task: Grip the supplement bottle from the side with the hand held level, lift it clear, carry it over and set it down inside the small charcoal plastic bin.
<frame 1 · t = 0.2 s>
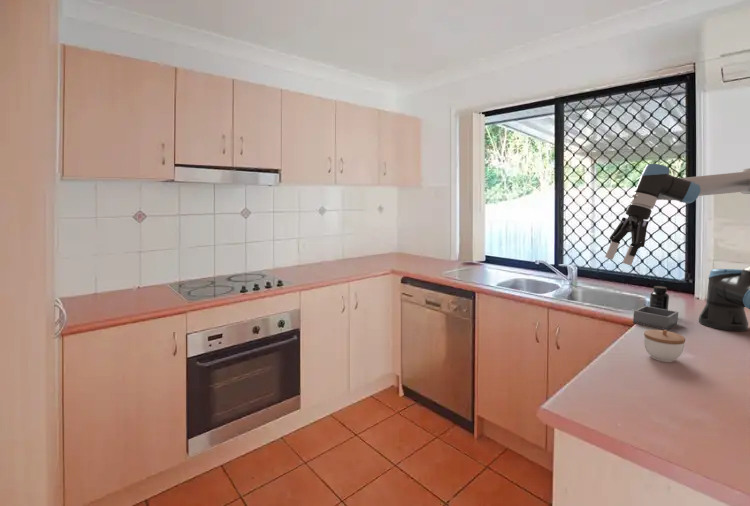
hand: (617, 261, 151), 28 cm above the worktop, tool tilted 20°, fingers open, 13 cm apart
bin: (655, 323, 166), on the worktop
supplement bottle: (657, 314, 180), on the worktop
lidded jar: (662, 358, 131), on the worktop
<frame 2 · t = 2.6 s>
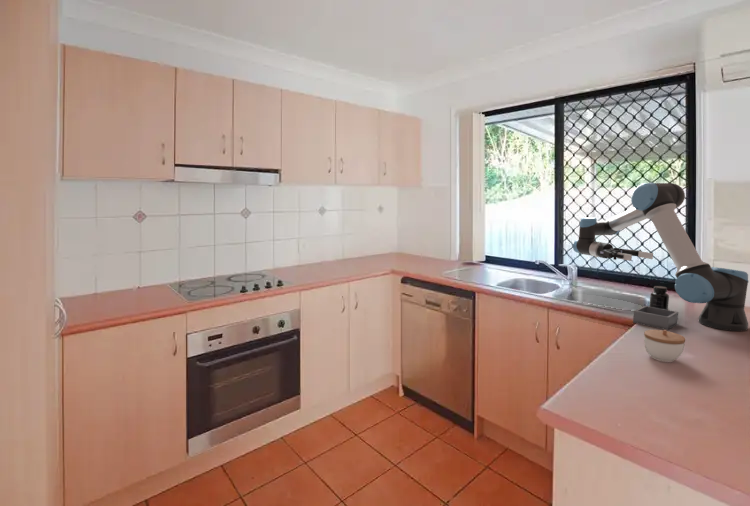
hand: (641, 257, 185), 24 cm above the worktop, tool horizontal, fingers open, 13 cm apart
nothing on the worktop moved.
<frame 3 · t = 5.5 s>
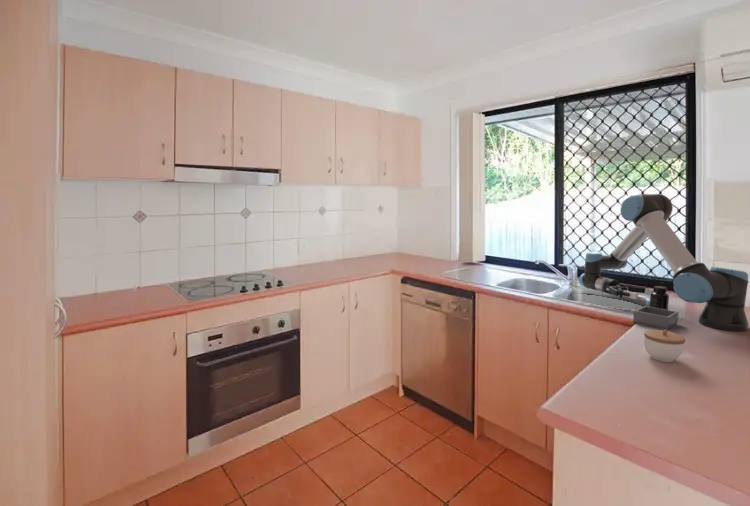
hand: (648, 295, 184), 7 cm above the worktop, tool horizontal, fingers open, 13 cm apart
nothing on the worktop moved.
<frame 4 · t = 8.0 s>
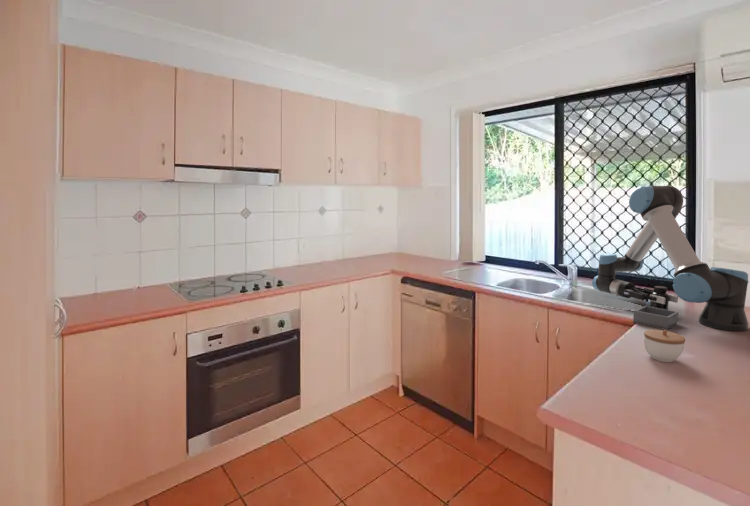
hand: (671, 300, 174), 7 cm above the worktop, tool horizontal, fingers closed on supplement bottle, 7 cm apart
supplement bottle: (657, 313, 180), on the worktop, touching gripper
everything else where it was.
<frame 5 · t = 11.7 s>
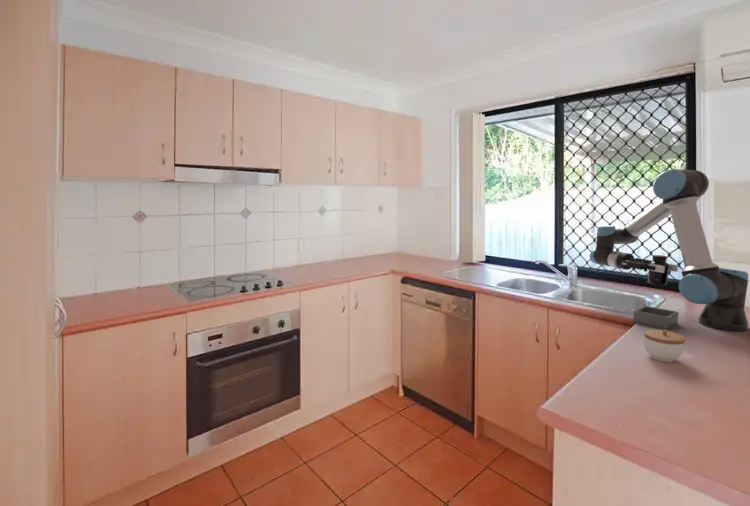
hand: (670, 269, 167), 22 cm above the worktop, tool horizontal, fingers closed on supplement bottle, 7 cm apart
supplement bottle: (657, 284, 173), point 14 cm above the worktop, touching gripper
everything else where it was.
when the fingers open (11 cm above the worktop, at t = 15.4 s): supplement bottle drops 3 cm, resting on bin.
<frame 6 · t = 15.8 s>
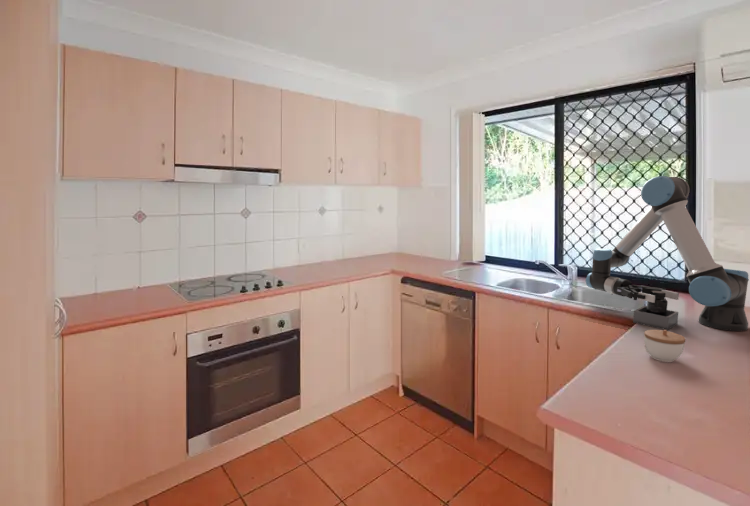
hand: (666, 297, 161), 11 cm above the worktop, tool horizontal, fingers open, 12 cm apart
supplement bottle: (655, 320, 166), point 1 cm above the worktop, touching bin
everything else where it was.
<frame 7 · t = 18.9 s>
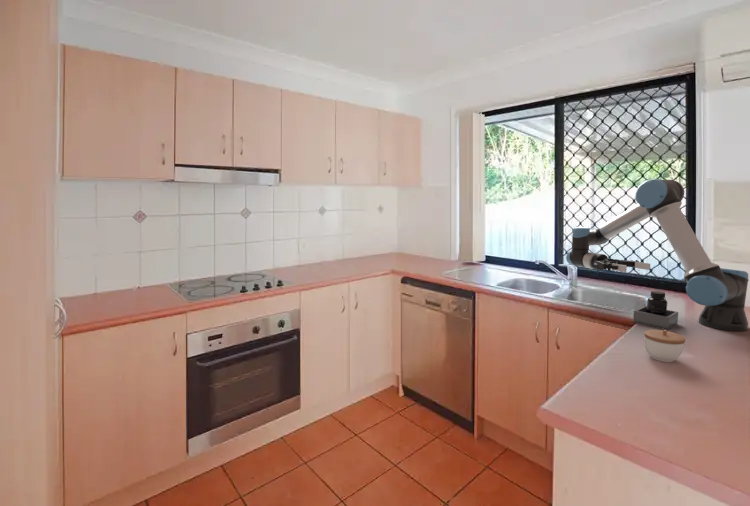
hand: (638, 267, 172), 21 cm above the worktop, tool horizontal, fingers open, 13 cm apart
nothing on the worktop moved.
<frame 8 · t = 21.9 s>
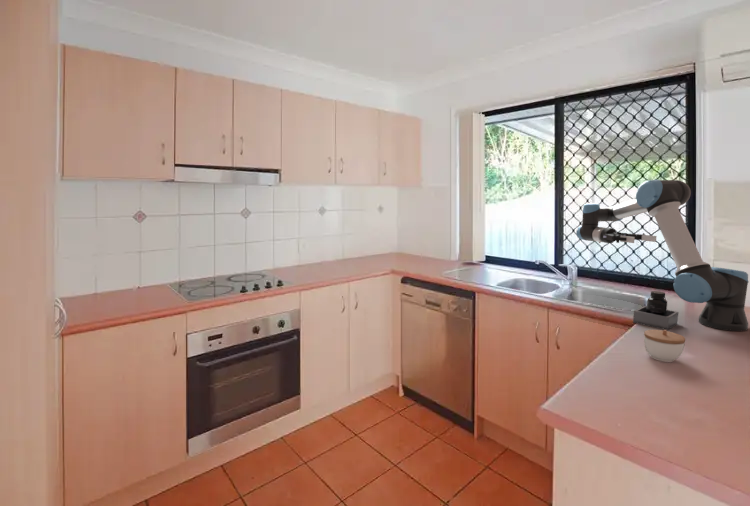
hand: (644, 239, 185), 32 cm above the worktop, tool horizontal, fingers open, 13 cm apart
nothing on the worktop moved.
at the end: supplement bottle inside the target area on the bin (0.2 cm from its centre), point 0.8 cm above the bin's base; the gripper is holding nothing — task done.
